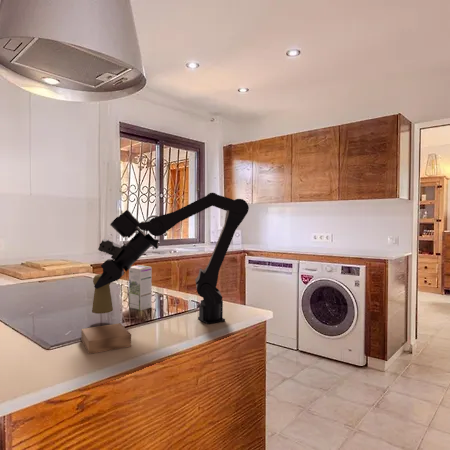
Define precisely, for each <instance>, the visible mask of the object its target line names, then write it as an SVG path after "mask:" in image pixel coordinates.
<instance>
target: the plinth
mask: <svg viewBox="0 0 450 450" xmlns="http://www.w3.org/2000/svg"><path fill="white" fill-rule="evenodd" d="M80 333H81V335H80V336H81V339H80V340H82V341H81V342H82V344H83V346H84V347H85V349H86V352H87V353H88V354H89V355H91V354H96V353H101V352H106V351H108V352H109V351H112V350H119V349H123V348H128V347H131V346H132V334H131V333H130V332H129V330H128V329H126V327H124V325H123V324H122V323H113V324H112V323H111V324H106V325H100V326H93V327H87V328H86V327H85V328H81V332H80Z"/></svg>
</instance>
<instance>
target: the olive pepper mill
mask: <svg viewBox="0 0 450 450" xmlns="http://www.w3.org/2000/svg"><path fill="white" fill-rule="evenodd" d="M101 275H102V273H101V274H100V273H99V274H96V275H94V276H93V280H92V282H93V286H95V284H96V282H97V281H98V279H99V278H100V276H101ZM110 285H111V283H109V284H107V285H104V286H102V287H100V288H98V289H96V288H95V287H94V290H93V292H94V293H93V299H92V309H91V313H93V314H98V315H99V314H107V313H111V312H113V311H114V308H113V300H112V293H111V287H110Z"/></svg>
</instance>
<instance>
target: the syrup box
mask: <svg viewBox="0 0 450 450" xmlns="http://www.w3.org/2000/svg"><path fill="white" fill-rule="evenodd" d="M152 272H153V268H152V266H149V265H148V266H147V265H141V264H140V265H132V266H131V268H130V269H129V270H128V309H131V310H136V311H144V310H148V309H150V308H152V307H153V301H152V296H153V295H152V292H153V291H152V289H153V288H152V287H153V286H152V283H153V282H152V279H153V278H152V277H153V274H152Z"/></svg>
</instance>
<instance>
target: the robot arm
mask: <svg viewBox="0 0 450 450" xmlns="http://www.w3.org/2000/svg"><path fill="white" fill-rule="evenodd" d="M210 207H215V208H218V209H220V210H223V211H226V213H225V218H224V225H223V227H222V229H221V233H220V234H219V237H218V239H217V242H216V243H215V247H214V249H213V251H212V254H211V255H210V259H209V261H208V263H207V265H206V266H205V268H204V269H202V268H199V271H198V276H196V278H194V281H195V287H196V293H197V294H198V295H199V297H201V298H202V300H200V304H199V307H198V309H199V310H198V315H199V316H198V317H197V319H198V320H200V321H202V322H203V323H205V324H207V325H210V324H216V323H221V322H225V321H226V318H224V317H223V316H224V315H223V312H224V309H223V307H224V304H223V303H224V301H223V296H222V293H221V291H220V290H219V289H218V287H217V285H218V279H219V273H220V270H221V267H222V265H223V262H224V260H225V257H226V255H227V252H228V251H229V248H230V245H231V243H232V240H233V237H234V235H235V233H236V231H237V229H238V228H239V226H240V225H241V223H242V222H243V221H244V219H245V217H246V216H247V214H248V212H249V209H250V207H249V205H248V202H247V201H246V200H244V199H243V198H236V199H233V198H231V197H226V196H222V195H219V194H217V193H215V192H210V193H208V194H206V195H205V196H203V197H201V198H199V199H197V200H195V201H193V202H191V203H189V204H186V205H185V206H182V207H181V208H178V209H176V210H174V211H172V212H169V213H164V214H161V215H158V216H155V217H152V218H150V219H149V220H148V221H144V220H143V221H141V222H140V221H139V220H138V219H137V218H136V217H135V216H133V214H132V212H131V211H130V210H128V209H125V211H124V212H122V213H121V214H120V215H119V216H116V218H114V220H112V221H111V223H110V224H109V225H110V226H111V227H112V229H114V230H115V231H116V233H118V235H120V236H121V237H122V238H123V239H124V238H128V239H130V238H131V237H132V236H133V235H134V236H133V237H132V238H131V239H130V240H128V241H127V243H124V245H120V244H117V243H115V242H113V241H111V240H110V239H106V238H105V239H102V240H101V242H100V243H99V245H98V249H97V250H98V251H99V252H100V253H101V252H104V253H106V254H107V255H110V256H111V257H110V258H109V259H107V260H105V261H104V262H103V263H102V264H101V265H100V267H101V268H102V273H101V274H102V275H101V276H100V278H99V279H98V281H97V282H96V284H95V285H93V287H94V289H95V288H96V289H98V288H100V287H102V286H104V285H107V284H109V283H110V284H111V283H113V282H116V281H117V282H118V281H119V280H120V279H121V278H122V277H123V276H124V275H125V274H126V273H125V272H129V269H130V268H131V267H132V266H134V263H136V262H137V261H138V260H139V259H140V258H141V257H142V256H143V255H144V254H145V253H146V252H147V251H148V250H149V249H150V248H151V247H153V248H154V249H155V250H157V249H158V248H159V242H160V240H159V239H158V238H157V239H155V238H154V237H160V236H163V235H165V233H167V232H169V230H171V229H172V228H173V227H175V226H177V224H179V223H181V222H183V221H185V220H187V219H189V218H190V217H192V216H194V215H196V214H198V213H201V212H203V211H205V210H207V209H209V208H210ZM144 231H146V232H147V234H146V233H144ZM136 232H137V233H136ZM135 233H136V234H135ZM153 236H154V237H153Z"/></svg>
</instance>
